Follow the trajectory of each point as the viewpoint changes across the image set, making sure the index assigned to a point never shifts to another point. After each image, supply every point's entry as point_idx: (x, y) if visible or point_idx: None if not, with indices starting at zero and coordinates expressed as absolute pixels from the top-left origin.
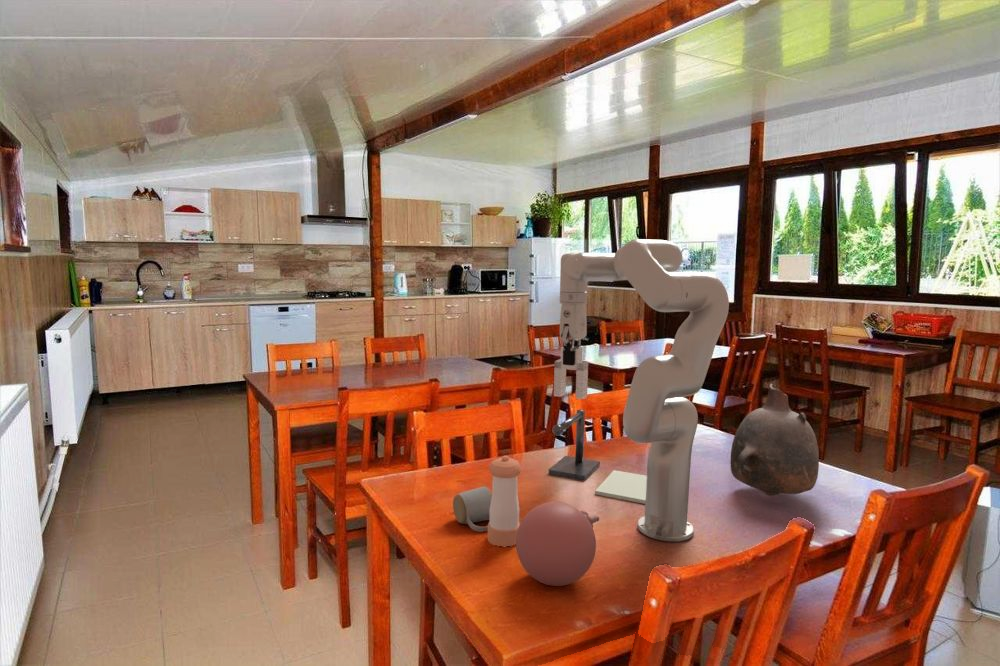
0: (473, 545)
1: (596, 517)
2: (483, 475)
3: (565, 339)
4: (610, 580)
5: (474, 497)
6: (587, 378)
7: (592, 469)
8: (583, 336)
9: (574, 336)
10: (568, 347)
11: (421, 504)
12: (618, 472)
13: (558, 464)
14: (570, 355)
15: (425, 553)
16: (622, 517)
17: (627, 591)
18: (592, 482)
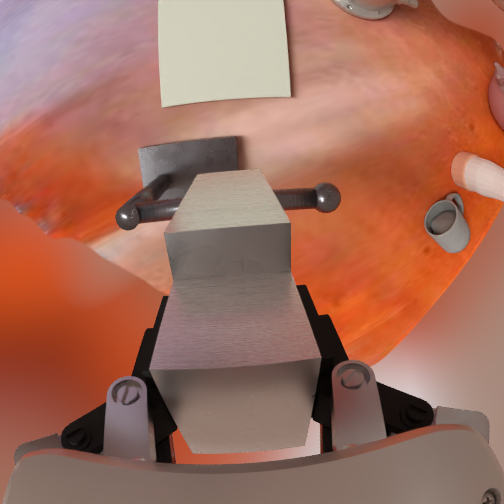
0: (476, 192)
1: (499, 65)
2: None
3: (488, 431)
4: (477, 52)
5: (466, 227)
6: (190, 193)
7: (186, 141)
8: (149, 486)
9: (489, 447)
10: (399, 396)
11: (415, 292)
12: (170, 94)
13: None
14: (339, 345)
15: (491, 223)
16: (353, 40)
17: (481, 39)
18: (233, 121)
